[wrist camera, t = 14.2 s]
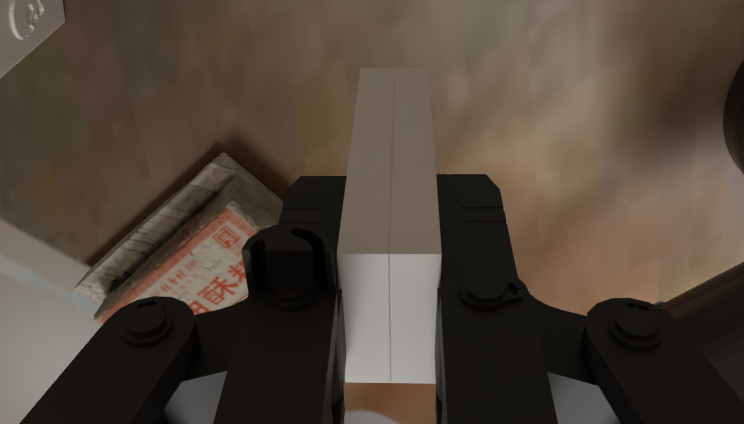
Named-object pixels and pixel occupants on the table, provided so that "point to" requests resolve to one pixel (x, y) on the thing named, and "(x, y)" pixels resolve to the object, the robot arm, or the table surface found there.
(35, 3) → the jar
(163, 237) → the packaged product
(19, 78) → the table surface
